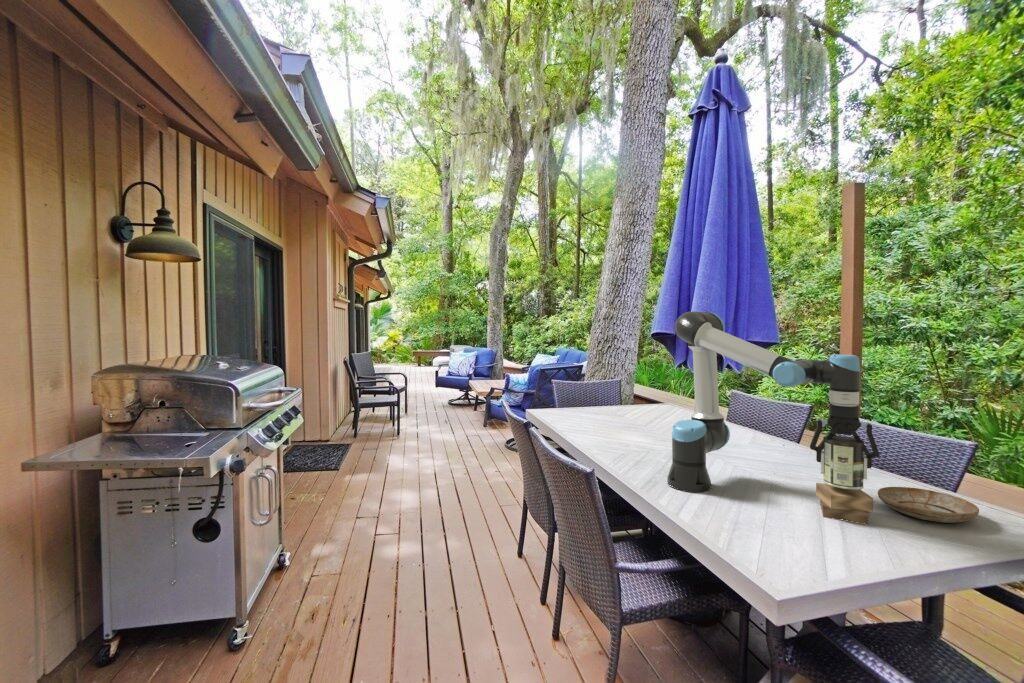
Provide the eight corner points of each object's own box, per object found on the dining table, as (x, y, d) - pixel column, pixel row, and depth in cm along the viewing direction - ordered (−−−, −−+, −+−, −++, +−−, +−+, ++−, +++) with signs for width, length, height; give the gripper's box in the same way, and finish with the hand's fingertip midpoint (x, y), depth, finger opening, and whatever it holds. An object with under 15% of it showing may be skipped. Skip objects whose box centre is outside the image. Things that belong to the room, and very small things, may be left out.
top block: (830, 508, 136) (831, 495, 136) (816, 495, 147) (816, 483, 147) (873, 511, 133) (873, 498, 133) (854, 498, 144) (855, 485, 144)
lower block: (823, 518, 138) (823, 505, 138) (820, 506, 148) (820, 494, 148) (868, 526, 133) (868, 513, 133) (862, 513, 142) (862, 500, 142)
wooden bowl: (977, 513, 140) (977, 497, 140) (980, 538, 123) (980, 521, 123) (881, 494, 157) (882, 480, 156) (872, 514, 140) (873, 499, 140)
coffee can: (852, 479, 144) (853, 435, 144) (871, 491, 134) (871, 444, 134) (816, 477, 146) (817, 434, 146) (832, 488, 136) (833, 442, 136)
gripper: (801, 403, 142) (800, 472, 143) (893, 409, 130) (892, 485, 131) (800, 399, 148) (799, 466, 149) (888, 405, 137) (887, 477, 137)
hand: (842, 475), depth 140 cm, fingers closed on coffee can, 10 cm apart
